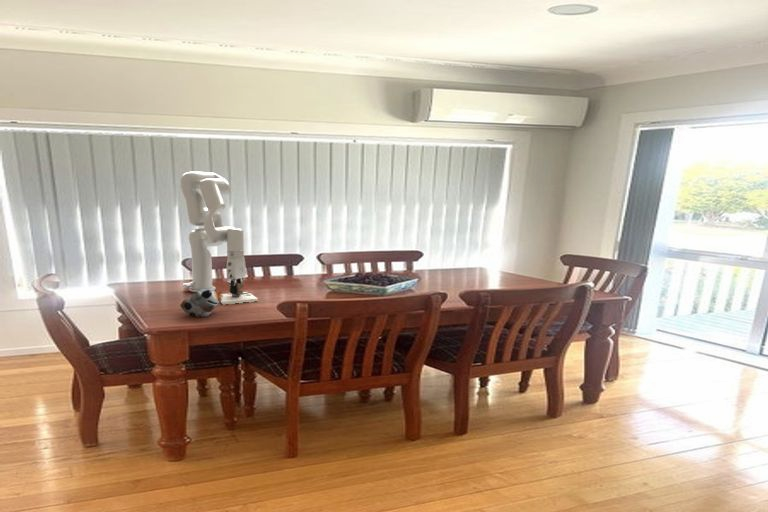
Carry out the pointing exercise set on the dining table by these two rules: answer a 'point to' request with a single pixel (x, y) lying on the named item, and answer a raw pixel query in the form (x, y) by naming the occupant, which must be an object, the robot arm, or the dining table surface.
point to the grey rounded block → (202, 302)
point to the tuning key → (238, 290)
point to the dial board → (237, 298)
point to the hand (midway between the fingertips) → (236, 292)
